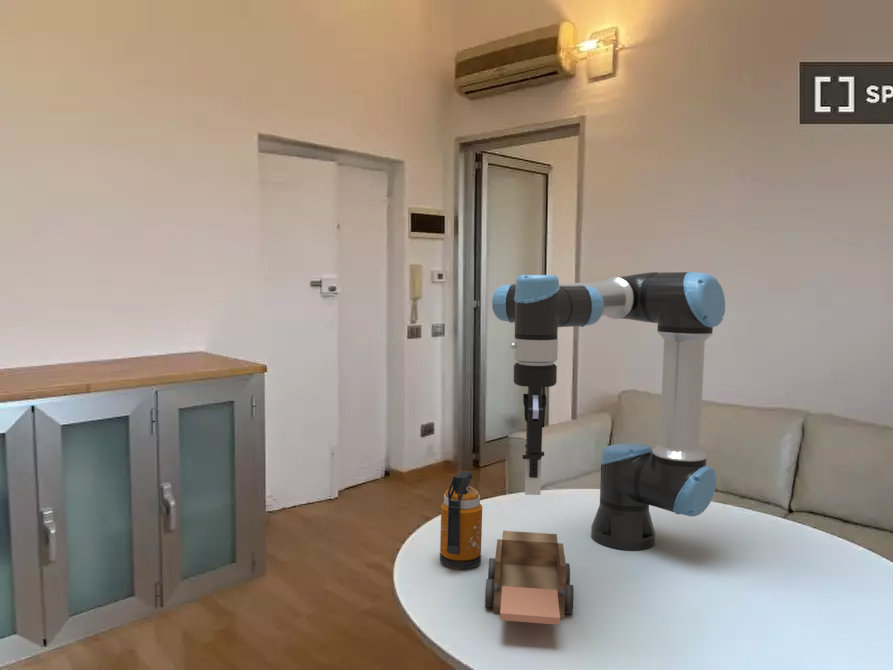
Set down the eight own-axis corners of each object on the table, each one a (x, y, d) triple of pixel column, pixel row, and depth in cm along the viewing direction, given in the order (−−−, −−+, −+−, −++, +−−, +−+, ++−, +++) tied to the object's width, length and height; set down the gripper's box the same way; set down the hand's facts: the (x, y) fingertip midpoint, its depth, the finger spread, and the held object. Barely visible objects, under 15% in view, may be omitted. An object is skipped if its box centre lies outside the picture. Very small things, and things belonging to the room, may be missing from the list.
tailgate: (557, 590, 123) (560, 617, 113) (556, 598, 123) (559, 627, 113) (502, 585, 124) (500, 613, 114) (502, 594, 124) (499, 622, 114)
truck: (567, 582, 139) (569, 534, 139) (573, 621, 123) (575, 568, 122) (489, 576, 141) (490, 529, 140) (484, 614, 125) (486, 561, 124)
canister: (485, 558, 151) (488, 470, 149) (471, 577, 140) (473, 483, 139) (447, 552, 154) (449, 465, 152) (430, 571, 143) (432, 478, 142)
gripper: (513, 357, 125) (511, 481, 127) (513, 366, 112) (511, 504, 114) (554, 358, 125) (551, 483, 127) (559, 367, 112) (556, 506, 114)
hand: (532, 493), depth 121 cm, fingers closed
